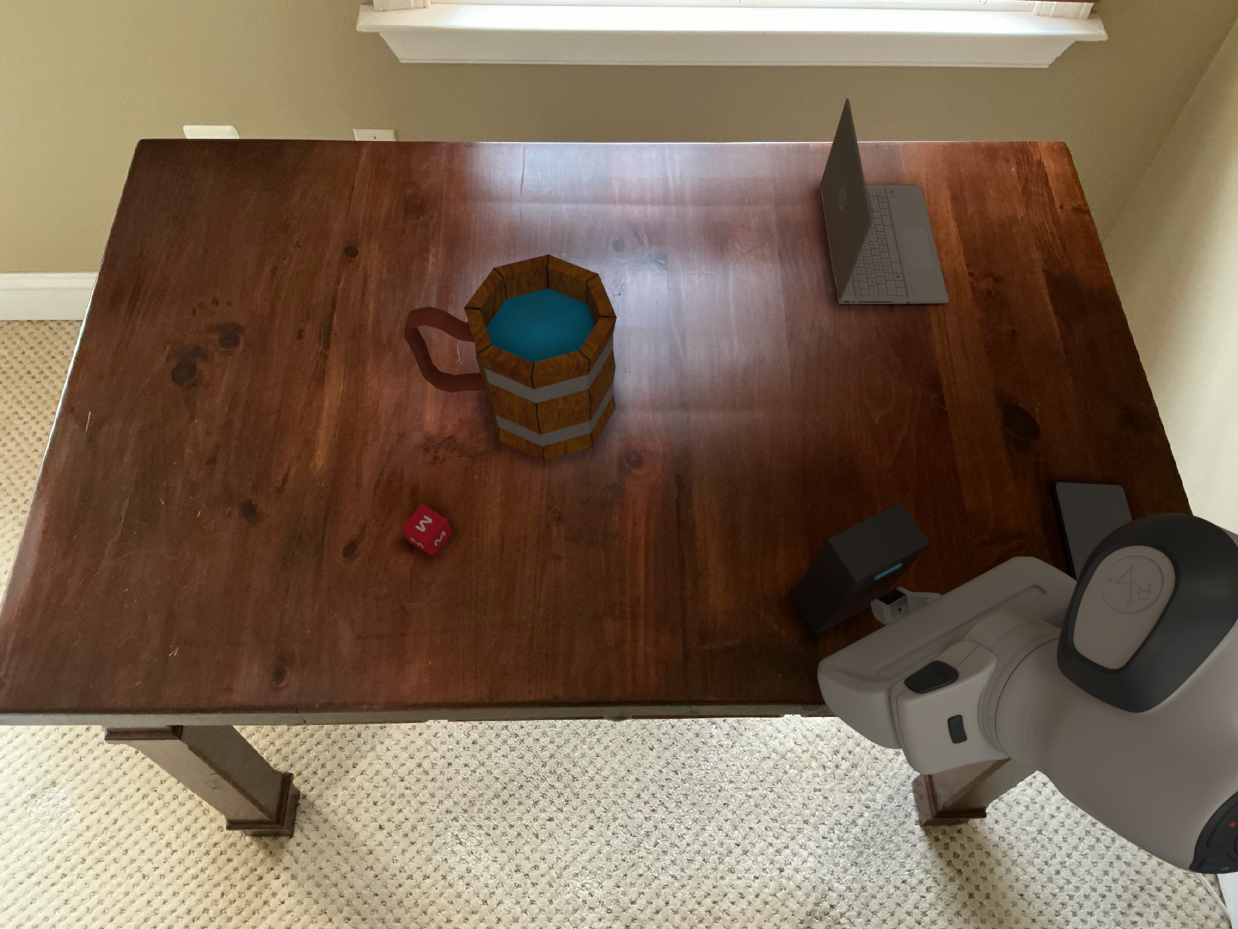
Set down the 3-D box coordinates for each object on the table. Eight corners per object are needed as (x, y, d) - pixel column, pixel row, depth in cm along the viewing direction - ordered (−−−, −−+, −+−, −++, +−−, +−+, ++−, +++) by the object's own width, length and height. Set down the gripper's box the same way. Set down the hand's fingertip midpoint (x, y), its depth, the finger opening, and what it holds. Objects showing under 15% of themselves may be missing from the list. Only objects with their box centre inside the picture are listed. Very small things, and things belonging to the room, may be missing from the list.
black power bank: (879, 603, 76) (932, 545, 64) (816, 637, 75) (857, 584, 62) (852, 564, 78) (899, 500, 66) (790, 596, 76) (825, 537, 64)
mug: (619, 354, 89) (622, 258, 76) (610, 465, 83) (611, 381, 69) (438, 343, 89) (409, 245, 76) (415, 452, 83) (379, 366, 70)
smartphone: (1123, 483, 81) (1164, 632, 74) (1118, 488, 82) (1158, 635, 75) (1053, 480, 81) (1086, 627, 74) (1048, 484, 82) (1081, 630, 75)
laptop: (947, 306, 93) (995, 221, 81) (835, 305, 93) (868, 220, 81) (919, 189, 101) (960, 97, 90) (817, 188, 101) (845, 96, 89)
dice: (433, 556, 78) (426, 544, 75) (407, 541, 78) (400, 528, 76) (452, 532, 79) (447, 519, 76) (427, 516, 80) (421, 503, 77)
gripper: (1127, 574, 56) (980, 515, 69) (881, 712, 52) (772, 623, 65) (1137, 649, 59) (992, 579, 71) (901, 788, 54) (791, 687, 67)
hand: (885, 601), depth 68 cm, fingers closed
